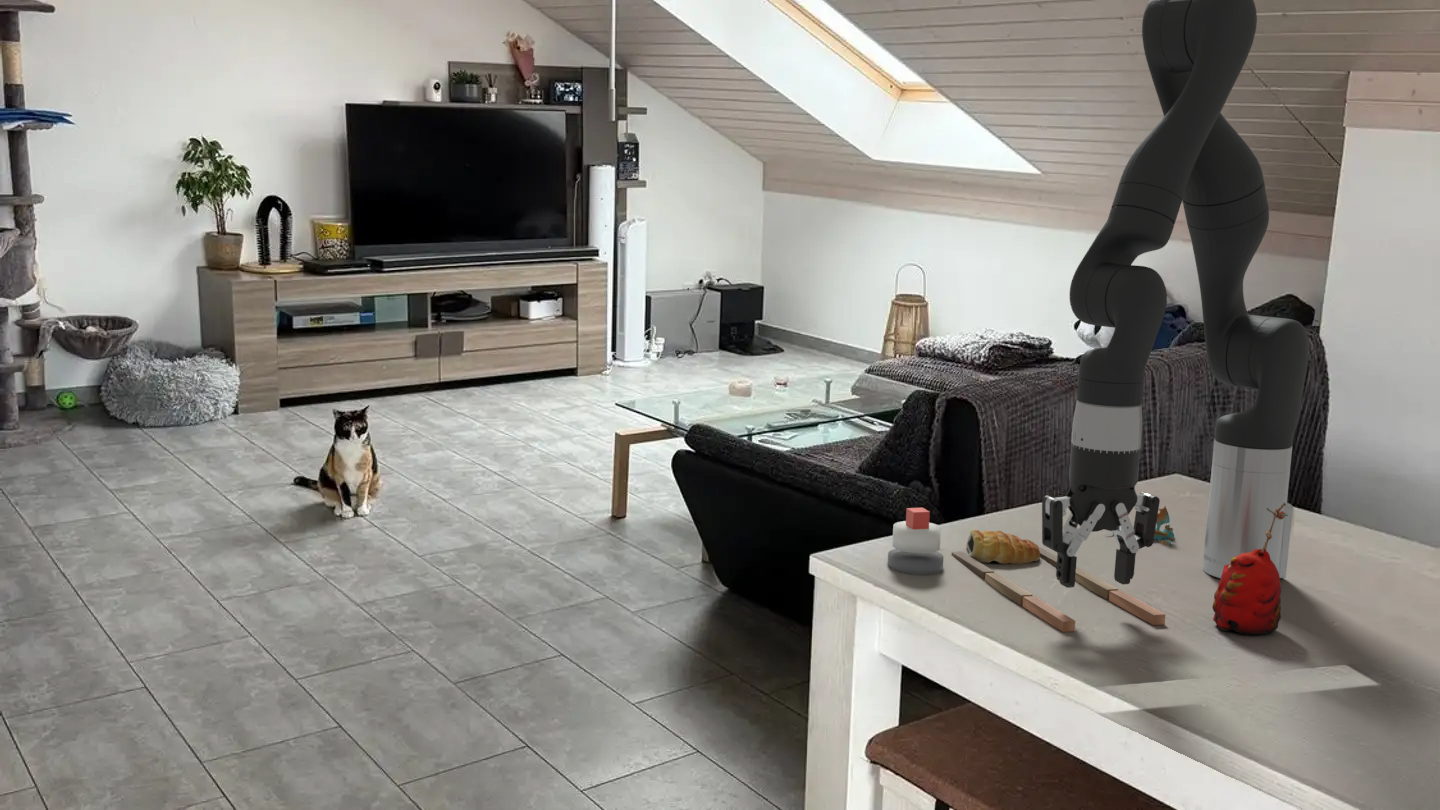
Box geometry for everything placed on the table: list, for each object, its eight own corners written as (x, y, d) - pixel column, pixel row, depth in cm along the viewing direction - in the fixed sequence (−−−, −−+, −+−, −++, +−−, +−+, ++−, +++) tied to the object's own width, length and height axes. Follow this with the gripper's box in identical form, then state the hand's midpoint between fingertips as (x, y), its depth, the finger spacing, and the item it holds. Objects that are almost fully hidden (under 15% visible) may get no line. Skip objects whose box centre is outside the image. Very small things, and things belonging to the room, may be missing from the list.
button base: (928, 561, 170) (929, 546, 169) (952, 576, 163) (952, 561, 163) (878, 564, 168) (879, 549, 168) (900, 579, 161) (901, 564, 161)
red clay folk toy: (1222, 613, 152) (1233, 488, 149) (1286, 626, 148) (1299, 498, 145) (1204, 630, 146) (1216, 500, 143) (1271, 644, 142) (1284, 510, 139)
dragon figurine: (1123, 567, 184) (1180, 560, 180) (1103, 551, 179) (1161, 544, 174) (1122, 523, 187) (1178, 516, 182) (1102, 506, 182) (1159, 498, 177)
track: (1039, 555, 174) (1040, 547, 174) (1164, 624, 147) (1165, 614, 147) (951, 561, 170) (951, 552, 170) (1062, 632, 144) (1063, 621, 143)
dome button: (927, 539, 169) (929, 503, 168) (948, 551, 163) (950, 514, 162) (885, 541, 167) (886, 505, 166) (903, 554, 161) (905, 516, 161)
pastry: (1032, 554, 173) (1034, 527, 173) (1045, 567, 167) (1047, 538, 166) (962, 552, 173) (964, 524, 173) (972, 565, 167) (974, 536, 166)
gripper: (1066, 450, 141) (1055, 598, 143) (1181, 446, 145) (1168, 590, 147) (1032, 437, 148) (1022, 578, 151) (1142, 434, 152) (1130, 571, 155)
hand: (1094, 583), depth 149 cm, fingers open, 6 cm apart
